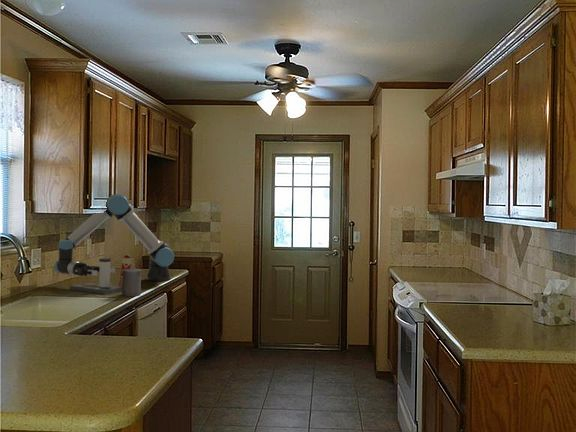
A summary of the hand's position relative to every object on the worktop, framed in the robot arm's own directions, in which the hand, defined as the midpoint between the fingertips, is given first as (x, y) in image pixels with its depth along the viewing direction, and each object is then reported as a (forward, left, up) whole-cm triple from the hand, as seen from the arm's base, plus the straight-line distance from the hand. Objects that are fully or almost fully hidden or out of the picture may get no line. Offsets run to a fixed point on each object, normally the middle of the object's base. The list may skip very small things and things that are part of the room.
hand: (105, 271), depth 314 cm
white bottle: (+1, -1, -8) cm, 8 cm away
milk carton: (-7, -19, -11) cm, 23 cm away
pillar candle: (-17, +8, -11) cm, 21 cm away
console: (+6, -3, -11) cm, 13 cm away
